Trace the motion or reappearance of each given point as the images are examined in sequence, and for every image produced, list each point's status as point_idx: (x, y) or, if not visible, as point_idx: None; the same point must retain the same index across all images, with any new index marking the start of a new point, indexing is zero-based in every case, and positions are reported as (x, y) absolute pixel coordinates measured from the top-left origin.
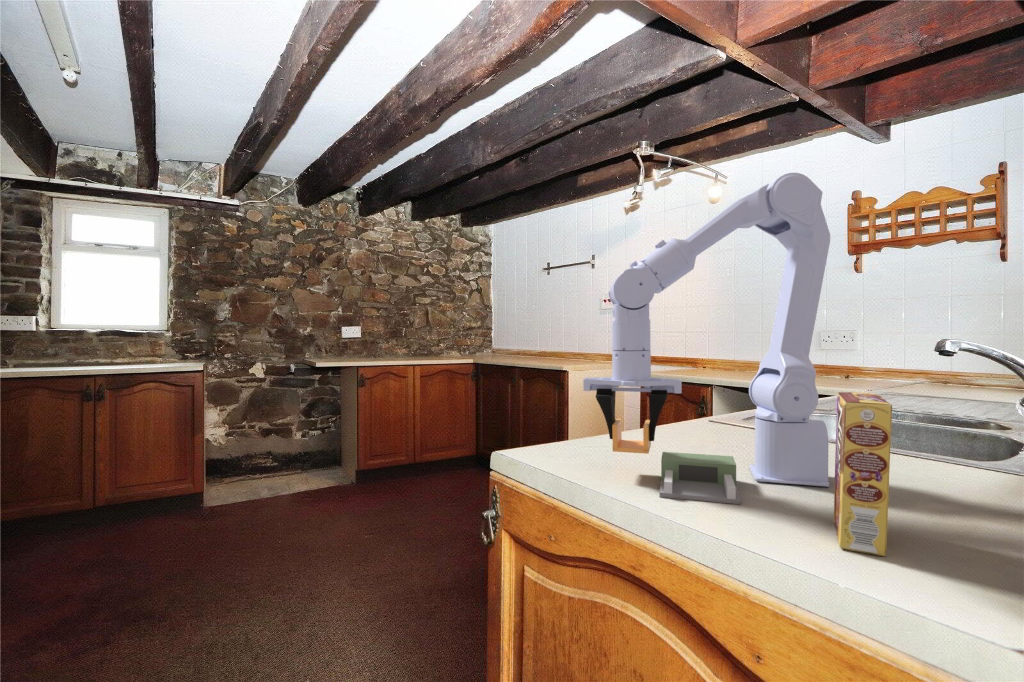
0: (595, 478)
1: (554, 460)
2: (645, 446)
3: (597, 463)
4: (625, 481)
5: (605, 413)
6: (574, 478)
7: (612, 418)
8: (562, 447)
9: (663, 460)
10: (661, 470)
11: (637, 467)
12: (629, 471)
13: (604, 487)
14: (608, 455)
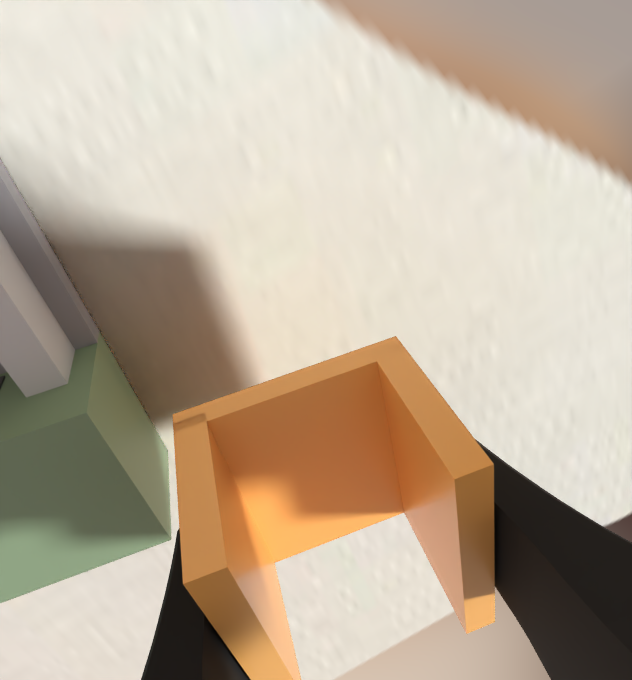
0: (418, 227)
1: (626, 354)
2: (194, 440)
3: (462, 417)
4: (272, 267)
5: (618, 551)
6: (511, 168)
7: (526, 546)
8: (612, 491)
9: (73, 415)
10: (91, 371)
11: None
12: None
13: (332, 104)
14: None
